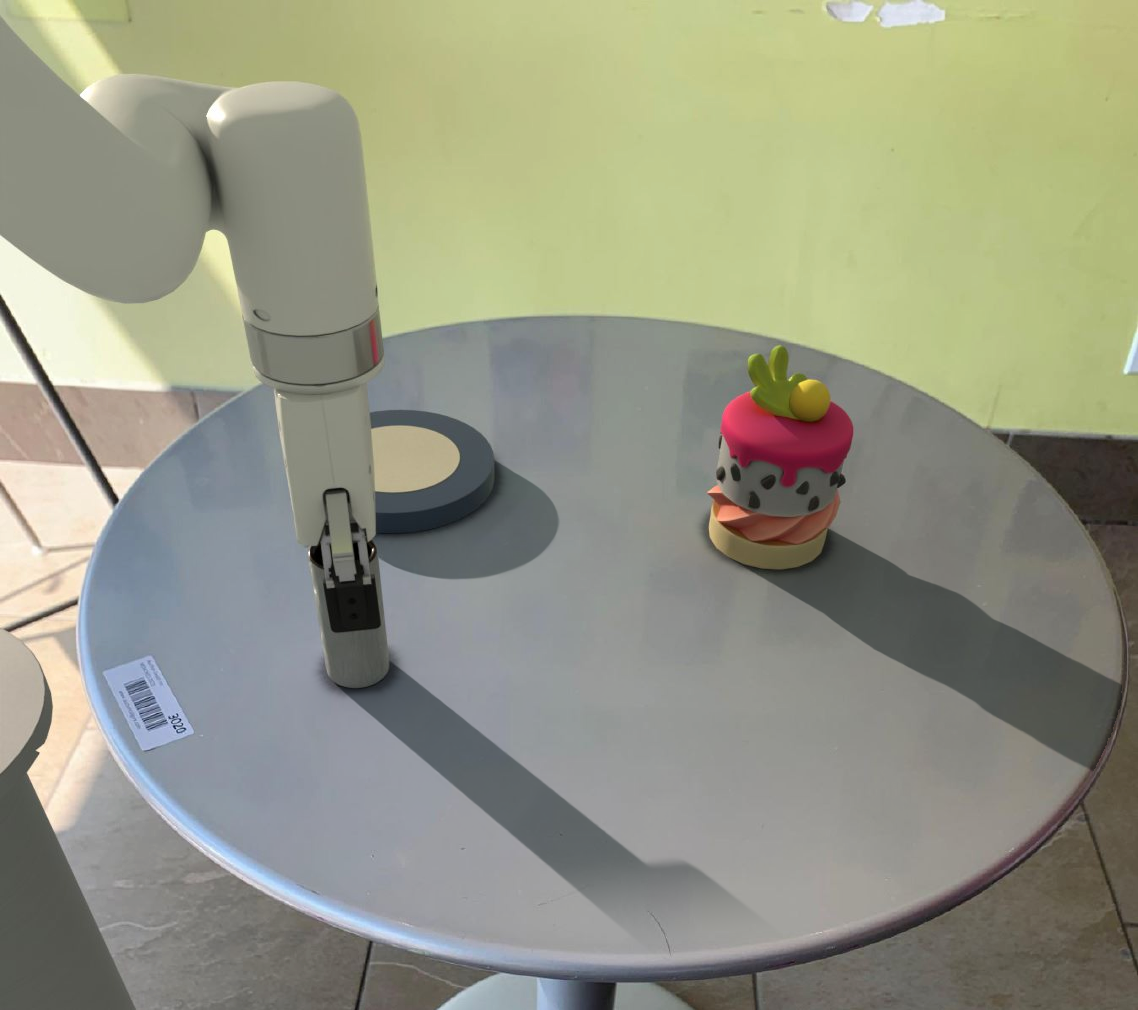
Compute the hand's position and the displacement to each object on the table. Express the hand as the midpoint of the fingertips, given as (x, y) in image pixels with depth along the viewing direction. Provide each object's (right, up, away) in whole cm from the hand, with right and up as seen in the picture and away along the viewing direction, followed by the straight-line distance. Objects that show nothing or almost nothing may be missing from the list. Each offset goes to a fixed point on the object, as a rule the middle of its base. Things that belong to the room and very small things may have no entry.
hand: (352, 582), depth 75 cm
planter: (-1, -6, +6) cm, 8 cm away
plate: (0, +13, +23) cm, 27 cm away
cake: (+31, +7, +19) cm, 37 cm away
